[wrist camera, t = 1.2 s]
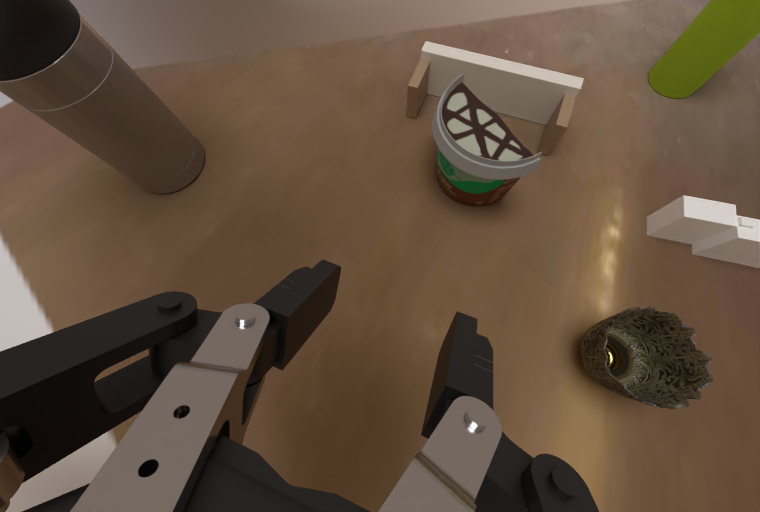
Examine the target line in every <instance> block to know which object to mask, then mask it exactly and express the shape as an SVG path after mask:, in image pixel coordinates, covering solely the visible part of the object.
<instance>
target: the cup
mask: <svg viewBox="0 0 760 512" xmlns="http://www.w3.org/2000/svg"><path fill="white" fill-rule="evenodd" d="M655 310H656V308H655V307H648V308H645V309H640V307H634V308H630V309H628V310H625V311H623V312H621V313H619V314H616V315H614V316H611V317H609V318H607V319H605V320H602V321H600V322H599V323H597V324H595V325H594V326H592V327H591V328H590V329H589V330H588V331H587V332H586V334H585V335H584V337H583V340H582V343H581V352H580V354H581V359H582V362H583V364H584V366H585V368H586V370H587V371H588V373H589V374H590V375H591V376H592V377H593V379H594V380H596V381H597V382H598V383H599V384H600V385H602V386H603V387H605V388H607V389H608V390H610V391H612V392H614V393H617V394H619V395H622V396H625V397H627V398H630V399H633V400H636V401H639V402H642V403H645V404H648V405H650V406H653V407H656V406H658V407H661V408H669V409H676V407H688V406H689V403H688V401H687V400H686V399H701V398H702V396H701V394H700V392H699V391H698V390H699V389H700V388H703V387H706V386H707V385H709V384H710V383H711V382H712V381H713V378H712V375H711V373H710V372H709V370H708V369H707V367H706V365H708V364H709V363H710V362H711V359H712V358H711V356H710V355H709V354H707V353H705V352H702V351H699V350H697V351H696V349H695V343H694V342H692V340H691V339H690V337H691V336H693V335H694V336H695V335H696V333H695V330H694V329H693V328H691V327H688V326H683V322H682V320H681V319H680V318H679V317H678V316H677V315H676V314H673V313H668V312H659V311H657V310H656V311H655ZM701 352H702V353H701ZM696 391H697V392H696Z"/></svg>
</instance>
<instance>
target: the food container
mask: <svg viewBox="0 0 760 512" xmlns="http://www.w3.org/2000/svg"><path fill="white" fill-rule="evenodd" d="M464 74H465V73H463V74H462V75H460V76H459V77H457V78H456V79H455V80H454V81H453V82H452V83H451V84H450V85H449V87H448V88H447V89H446V91H445V92H444V93H443V95H442V97H441V99H440V101H439V103H438V106H437V108H436V110H435V113H434V117H433V124H432V127H433V135H434V139H435V142H436V144H437V146H438V151H437V180H438V183H439V185H440V187H441V189H442V190H443V192H444V193H445V194H446V195H447V196H449V197H450V198H451V199H453V200H454V201H456V202H458V203H461V204H464V205H468V206H485V205H489V204H492V203H495V202H497V201H499V200H501V199H502V198H503V196H504V195H505V194H506V193H507V192H508V191H509V190H510V189H511V188H512V187H513V185H514V184H515V183H516V182H517V181H518V180H519V179H520V178H521V177H522V176H525V175H528V174H530V173H532V172H534V171H536V170H537V168H538V165H539V163H540V160H541V158H539V157H540V155H541V153H542V152H540V153H538V154H536V155H534V156H533V155H532V153H531V152H530V151H529V150H527V149H526V148H525V147H524V146H523V145H522V144H521V143H520V142H519V141H518V140H517V139H516V137H515V136H514V135H513V134H512V133H511V131H510V130H509V129H508V127H507V126H506V125H505V123H504V122H503V121H502V120H501V118H500V117H499V116H498V115H497V114H496V113H495V112H494V111H492V110H491V109H490V108H489V107H487V106H486V105H485V104H484V103H482V102H481V101H480V100H479V99H478V98H477V97H476V96H475V95H474V94H473V93H472V92H471V91H470V90H469V89H468V88H467V87H466V85H465V84H464V83H463V82H464Z"/></svg>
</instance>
